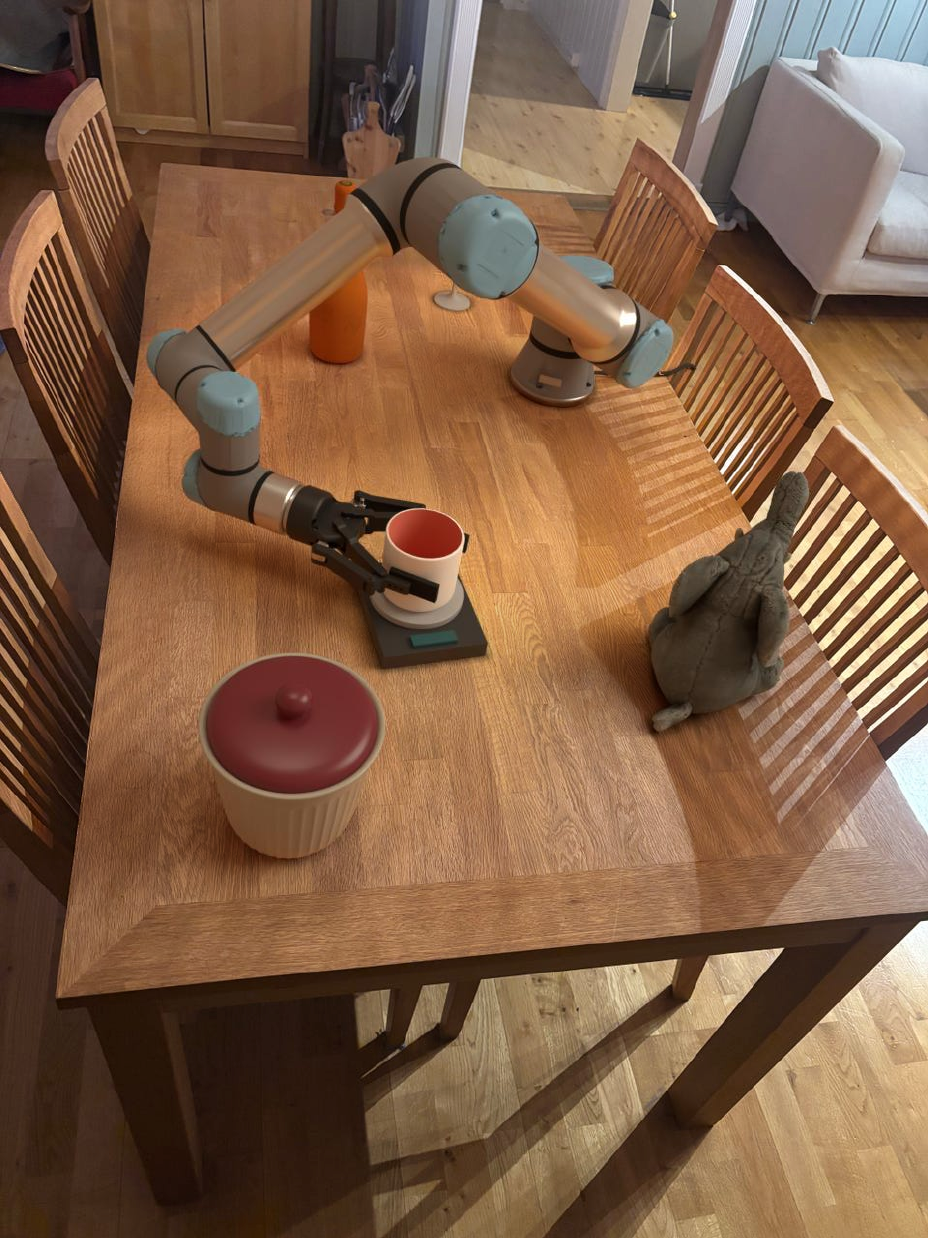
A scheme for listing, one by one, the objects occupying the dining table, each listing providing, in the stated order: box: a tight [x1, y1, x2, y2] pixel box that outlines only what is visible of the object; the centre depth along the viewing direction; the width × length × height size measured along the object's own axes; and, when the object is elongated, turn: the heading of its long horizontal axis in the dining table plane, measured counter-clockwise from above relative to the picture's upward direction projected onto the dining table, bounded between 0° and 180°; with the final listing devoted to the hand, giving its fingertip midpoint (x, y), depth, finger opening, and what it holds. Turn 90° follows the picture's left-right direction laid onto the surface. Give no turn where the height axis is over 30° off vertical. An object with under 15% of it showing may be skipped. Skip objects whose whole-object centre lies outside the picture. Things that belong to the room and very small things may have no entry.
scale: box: [355, 562, 489, 670], centre depth 130 cm, size 14×17×3 cm
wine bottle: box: [308, 180, 369, 364], centre depth 163 cm, size 10×10×30 cm
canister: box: [197, 651, 386, 860], centre depth 99 cm, size 18×18×21 cm
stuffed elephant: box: [647, 470, 810, 733], centre depth 122 cm, size 19×21×27 cm
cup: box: [381, 508, 465, 612], centre depth 126 cm, size 10×10×10 cm
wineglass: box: [433, 282, 471, 312], centre depth 185 cm, size 8×8×21 cm
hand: (452, 568), depth 124 cm, fingers closed on cup, 10 cm apart
